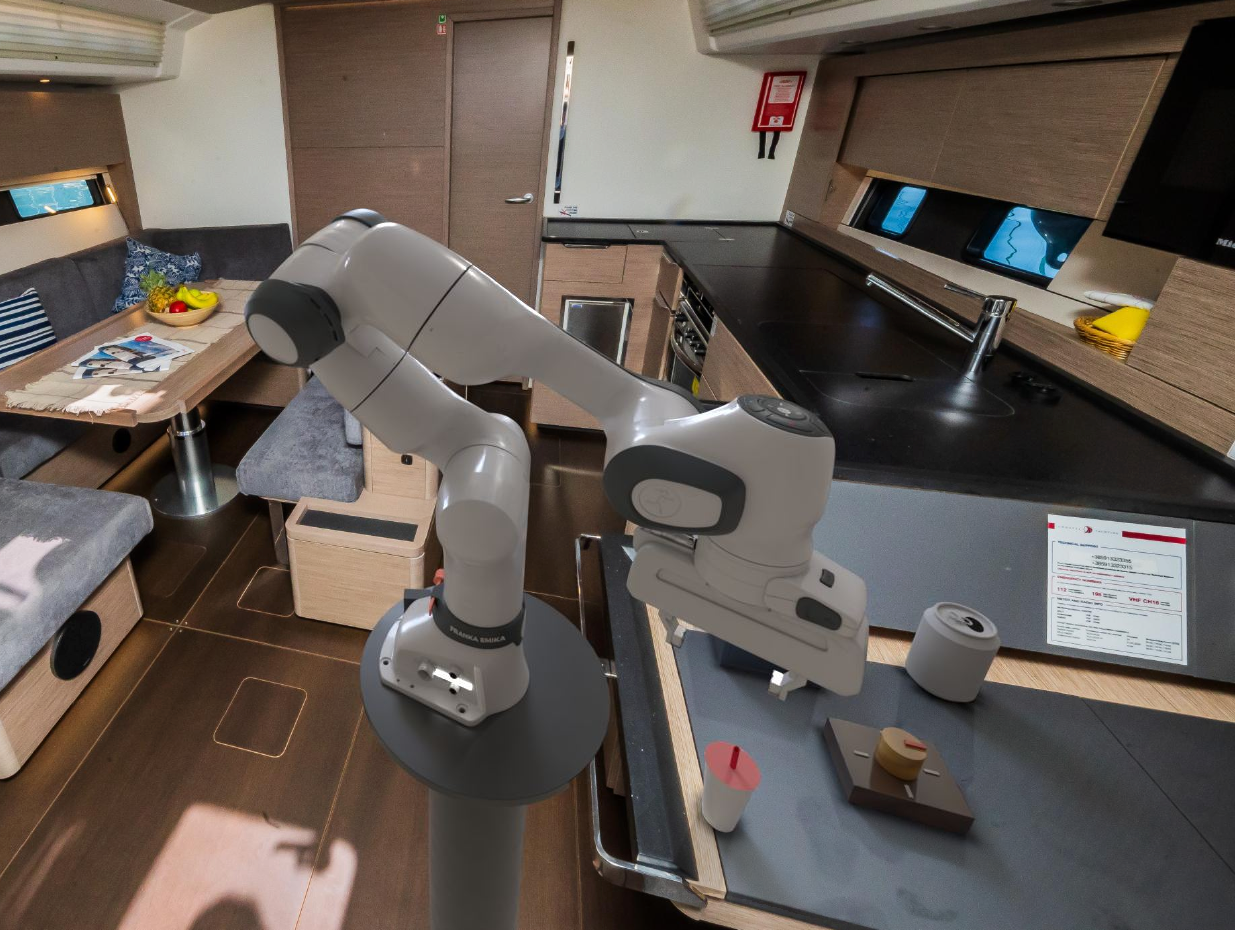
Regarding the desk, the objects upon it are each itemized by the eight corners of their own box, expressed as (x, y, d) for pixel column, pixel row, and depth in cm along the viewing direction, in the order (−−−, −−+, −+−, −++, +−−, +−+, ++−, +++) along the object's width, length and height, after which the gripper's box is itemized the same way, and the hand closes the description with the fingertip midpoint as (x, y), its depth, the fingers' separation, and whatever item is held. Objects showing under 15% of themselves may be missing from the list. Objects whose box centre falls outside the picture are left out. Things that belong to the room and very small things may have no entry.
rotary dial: (847, 802, 68) (854, 784, 67) (822, 732, 76) (828, 715, 74) (966, 836, 64) (976, 818, 63) (927, 759, 72) (934, 741, 71)
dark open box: (719, 665, 86) (728, 626, 83) (706, 604, 96) (714, 567, 94) (820, 689, 81) (833, 648, 78) (794, 622, 92) (805, 584, 89)
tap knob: (882, 774, 68) (891, 752, 66) (868, 742, 71) (876, 720, 70) (924, 785, 66) (934, 763, 65) (908, 752, 70) (917, 731, 68)
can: (982, 716, 77) (1014, 649, 72) (908, 691, 80) (935, 626, 76) (966, 673, 83) (995, 609, 78) (898, 652, 86) (922, 589, 82)
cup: (718, 849, 64) (737, 778, 60) (682, 799, 69) (697, 730, 64) (756, 833, 65) (778, 762, 61) (718, 785, 70) (736, 717, 66)
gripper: (625, 531, 59) (611, 632, 64) (884, 635, 46) (841, 753, 51) (646, 502, 63) (632, 600, 68) (889, 590, 50) (849, 703, 55)
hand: (723, 666), depth 59 cm, fingers open, 8 cm apart
